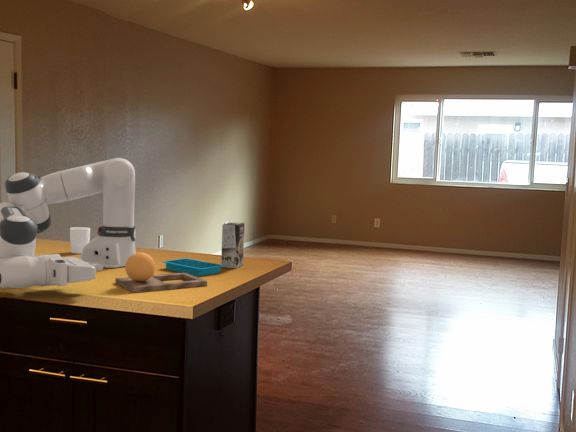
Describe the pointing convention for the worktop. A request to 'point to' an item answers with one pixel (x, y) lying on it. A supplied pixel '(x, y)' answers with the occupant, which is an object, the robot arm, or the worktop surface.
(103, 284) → the worktop surface
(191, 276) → the walnut board
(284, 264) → the worktop surface
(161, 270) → the worktop surface
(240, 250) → the coffee box
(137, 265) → the ball
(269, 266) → the worktop surface
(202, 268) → the ice cube tray
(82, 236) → the white cup
